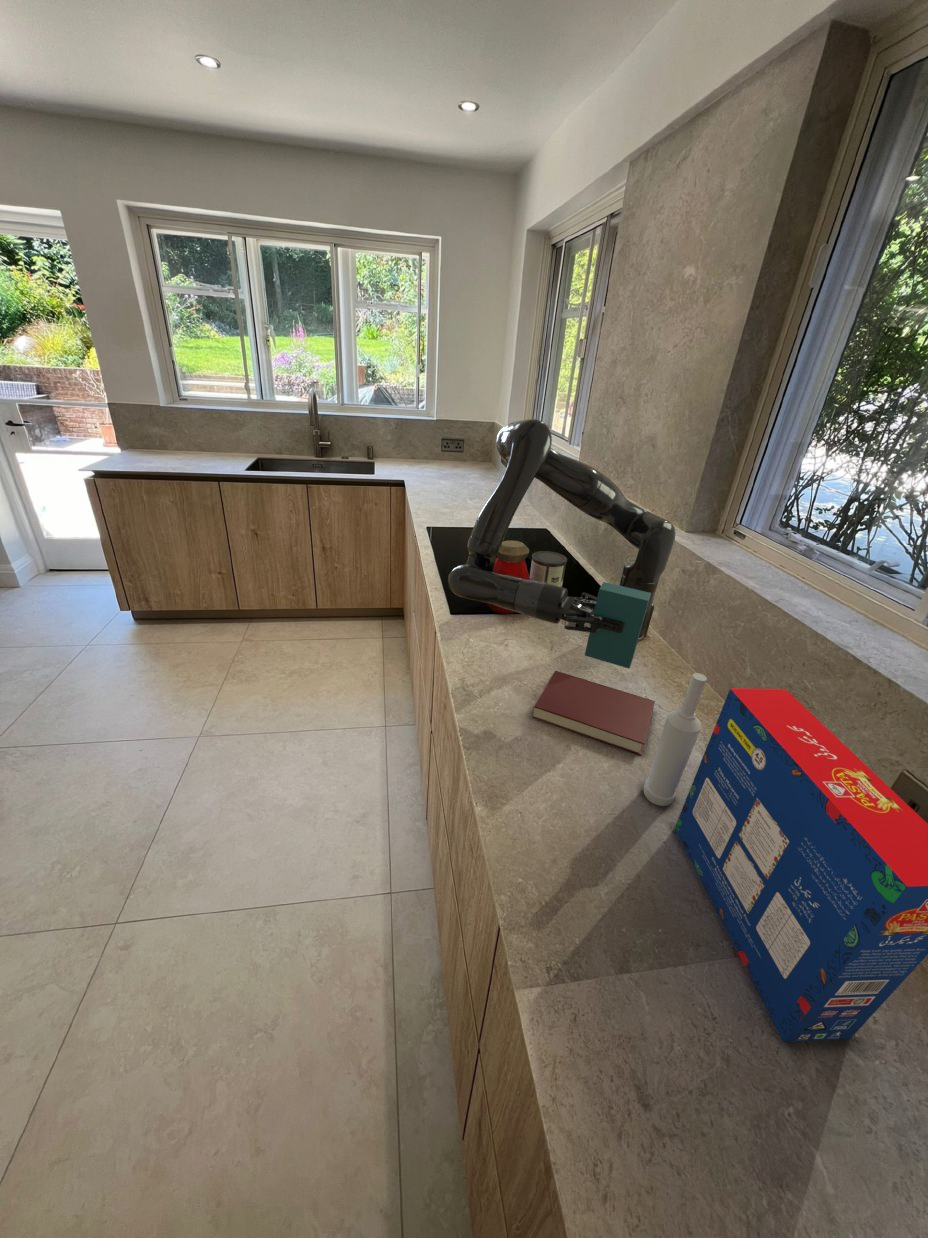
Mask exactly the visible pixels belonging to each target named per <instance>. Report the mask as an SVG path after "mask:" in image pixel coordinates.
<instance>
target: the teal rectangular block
mask: <svg viewBox="0 0 928 1238" xmlns="http://www.w3.org/2000/svg"><path fill="white" fill-rule="evenodd" d="M619 585H620V584H619ZM619 585H618V584H614V583H611V582H606V581H603V582H602V583H601V585H600V587H599V588H598V593H597V596H596V597H597V602H596V606H595V611H594V614H597V615H600V616H602V617H604V618H605V617H606V618H610V619H614V620H618V621H622V622H623V623H624V625H623V629H622V632H621V633H617V632H613V631H609V630H606V629H602V628H601V629H600V630H598V629H597V630H596V632H595V633H591V632H588V638H587V643H586V647H585V648H586V649H585V652H584V656H585V657H588V658H592V659H595V660H598V661H601V662H605V663H608V664H611V665H616V666H619V667H622V668H626V669H631V666H632V662H633V660H634V656H635V653H636V649H637V646H638V642H639V641H638V639H639V635H640V631H641V628H642V624H643V620H644V617H645V613H646V610H647V606H648V602H649V599H650V595H651V593H649V592H644V591H640V590H636V589H632V588H627V587H623V586H619ZM593 619H594V618H593Z"/></svg>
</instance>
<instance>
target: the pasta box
mask: <svg viewBox="0 0 928 1238" xmlns="http://www.w3.org/2000/svg"><path fill="white" fill-rule="evenodd" d="M714 725H715V726H714V728H713V730H712V733H711V734H710V735H711V736H710V738H709V741H708V743H707V746H706V747H705V751H704V753H703V755H702V758H701V761H700V763H699V766H698V768H697V771H696V773H695V776H694V778H693V781H692V784H691V786H690V788H689V791H688V793H687V795H686V798H685V801H684V804H683V806H682V808H681V811H680V813H679V816H678V818H677V821H676V824H675V827H674V831H675V833H676V835H677V837H678V839H679V841H680V843H681V845H682V847H683V848H684V851H685V852H686V855H687V856H688V859H689V860H690V863H691V864H692V866H693V868H694V870H695V872H696V875H697V876H698V878H699V880H700V883H701V884H702V886H703V888H704V890H705V891H706V893H707V896H708V897H709V899H710V902H711V903H712V905H713V908H714V909H715V911H716V913H717V915H718V917H719V919H720V922H721V923H722V925H723V927H724V929H725V931H726V932H727V934H728V937H729V938H730V940H731V943H732V945H733V946H734V948H735V950H736V952H737V954H738V956H739V958H740V960H741V962H742V963H743V965H744V968H745V970H746V972H747V974H748V975H749V977H750V979H751V981H752V984H753V985H754V987H755V989H756V991H757V993H758V995H759V997H760V999H761V1001H762V1003H763V1005H764V1007H765V1008H766V1011H767V1012H768V1014H769V1016H770V1018H771V1020H772V1022H773V1024H774V1026H775V1028H776V1031H777V1032H778V1034H779V1036H780V1038H781V1040H782V1042H783V1043H792V1042H795V1043H796V1042H814V1041H833V1040H834V1041H835V1040H851V1039H852V1038H853V1037H854V1035H855V1034H856V1033H858V1031H859V1030H860V1029H861V1028H862V1027H863V1026H864V1025H865V1023H866V1022H868V1021H869V1019H870V1018H871V1017H872V1016H873V1015H874V1014H875V1013H876V1012H877V1011H878V1010H879V1008H880V1007H881V1006H882V1005H883V1004H884V1003H885V1002H886V1001H887V1000H888V999H889V997H890V996H892V994H893V993H894V992H895V991H896V990H897V989H898V988H899V986H900V985H901V984H903V982H904V981H905V980H906V979H907V978H908V977H909V976H910V974H911V973H913V971H914V970H916V968H917V967H918V966H919V965H920V964H921V963H922V962H923V960H925V958H927V956H928V822H927V821H925V819H923V818H922V817H921V816H920V814H918V812H916V811H915V810H914V809H913V808H912V807H911V806H909V805H908V804H907V803H906V802H905V801H904V799H902V798H901V797H900V796H899V795H898V794H897V793H896V792H895V791H894V790H893V789H891V787H890V786H889V785H888V784H886V783H885V782H884V781H883V780H882V779H881V778H880V777H879V776H878V775H877V774H876V773H875V772H874V771H873V770H872V769H870V767H869V766H868V765H866V763H864V762H863V760H861V759H860V757H858V756H857V755H856V754H855V753H854V752H853V751H852V750H851V749H849V748H848V747H847V746H846V745H845V744H844V742H842V740H840V739H839V738H838V737H837V736H836V735H834V733H833V732H832V731H831V730H829V729H828V728H827V727H826V726H825V725H824V724H823V723H822V722H821V721H820V720H819V719H818V718H817V716H815V715H814V714H813V713H812V712H810V711H809V710H808V709H807V707H805V706H804V704H802V702H800V701H799V700H798V699H797V698H796V697H795V696H794V695H793V694H792V693H790V691H789V690H787V689H786V688H783V689H781V688H734V687H733V688H731V687H730V688H729V690H728V693H727V695H726V697H725V700H724V703H723V706H722V708H721V710H720V713H719V716H718V718H717V720H716V723H715V724H714Z"/></svg>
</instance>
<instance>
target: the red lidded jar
mask: <svg viewBox="0 0 928 1238" xmlns="http://www.w3.org/2000/svg"><path fill="white" fill-rule="evenodd" d="M529 553H530V549H529V547H528V546H527V545H526V544H525V543H523V542H522V541H519V540H505V541H504V540H503V543H502V545H501V547H500V550H499V552H498V554H497V556H496V561H495V567H494V571H493V573H496V574H501V575H508V576H513V577H517V578H521V579H525V580H530V573H529V570H528V567H527V563H526V559H527V557H528V556H529ZM486 604H487V606H488V609H490V610H491V611H492V612H494V613H496V614H500V615H513V614H517V613H518V612H516V611H512V610H508V609H504V608H501V607H498V606H496V605H493V604H490V603H486Z"/></svg>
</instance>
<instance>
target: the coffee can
mask: <svg viewBox="0 0 928 1238" xmlns="http://www.w3.org/2000/svg"><path fill="white" fill-rule="evenodd" d="M567 562H568V558H567V557H566V556H565V555H564V554H562V553H559V552H555V551H549V550H539V551H534V552H533V553H532V554H531V565H530V571H529V577H530V580H534V581H538V582H542V583H546V584H551V585H555V586H559V587H563V583H564V578H565V577H564V576H565V571H566V567H567Z"/></svg>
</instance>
